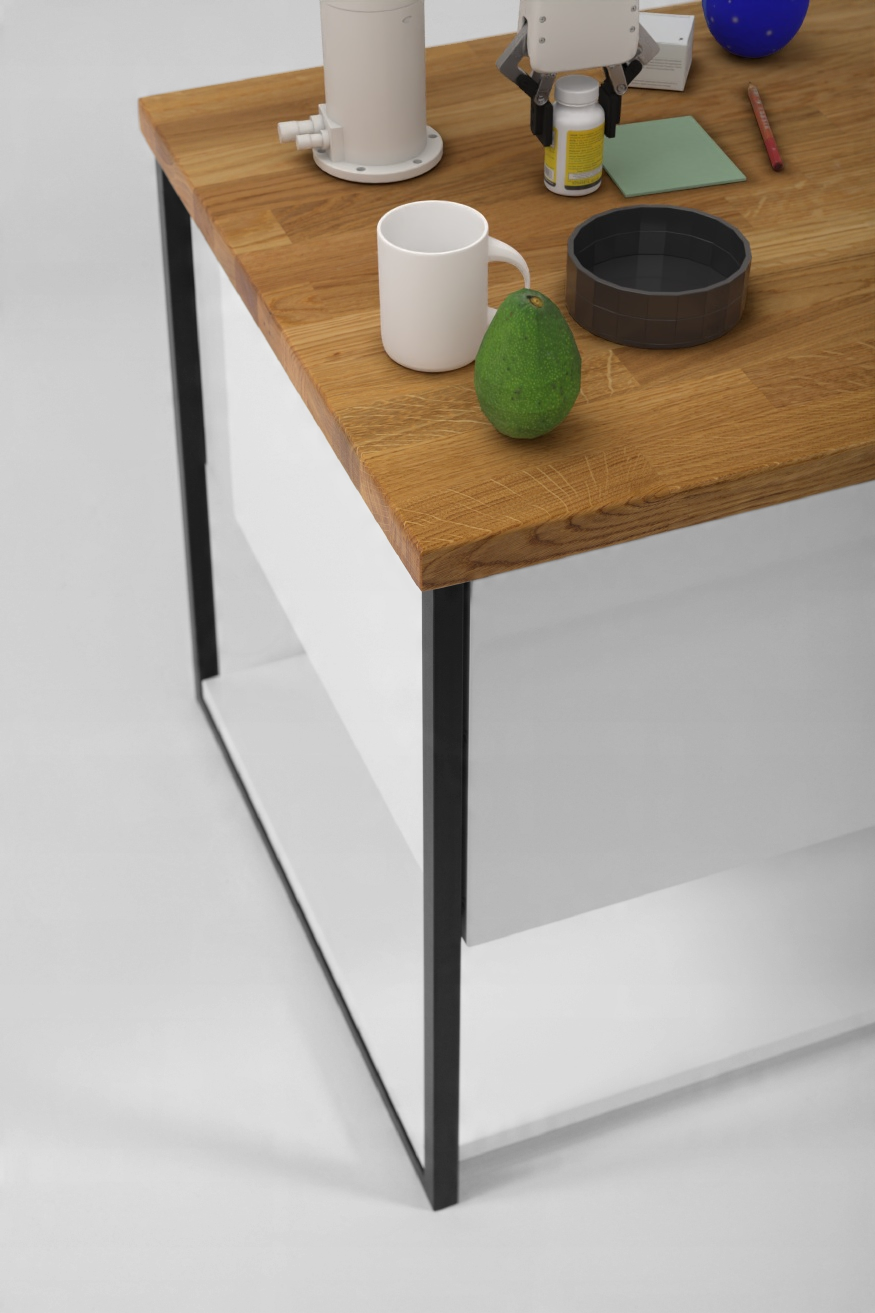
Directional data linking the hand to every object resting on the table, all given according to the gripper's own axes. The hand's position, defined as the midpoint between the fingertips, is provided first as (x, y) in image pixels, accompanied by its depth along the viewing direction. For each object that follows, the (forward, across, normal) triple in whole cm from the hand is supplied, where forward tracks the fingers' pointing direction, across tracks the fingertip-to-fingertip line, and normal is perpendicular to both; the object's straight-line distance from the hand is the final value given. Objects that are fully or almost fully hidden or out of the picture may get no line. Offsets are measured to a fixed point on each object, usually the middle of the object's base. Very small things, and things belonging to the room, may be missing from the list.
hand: (574, 134), depth 150 cm
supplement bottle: (+5, 0, 0) cm, 5 cm away
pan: (+5, 0, +22) cm, 22 cm away
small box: (+5, -16, -21) cm, 27 cm away
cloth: (+5, -10, -3) cm, 12 cm away
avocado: (+5, +16, +37) cm, 41 cm away
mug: (+5, +18, +24) cm, 30 cm away
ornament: (+5, -28, -23) cm, 37 cm away
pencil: (+5, -22, -6) cm, 23 cm away
